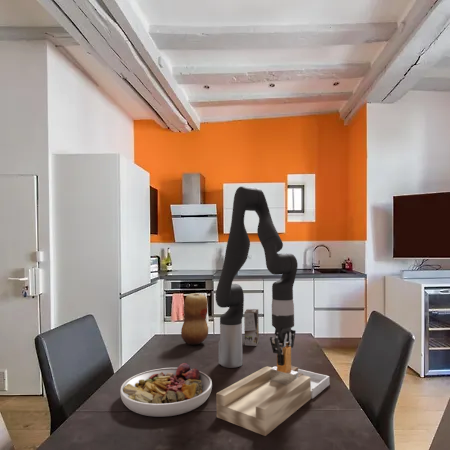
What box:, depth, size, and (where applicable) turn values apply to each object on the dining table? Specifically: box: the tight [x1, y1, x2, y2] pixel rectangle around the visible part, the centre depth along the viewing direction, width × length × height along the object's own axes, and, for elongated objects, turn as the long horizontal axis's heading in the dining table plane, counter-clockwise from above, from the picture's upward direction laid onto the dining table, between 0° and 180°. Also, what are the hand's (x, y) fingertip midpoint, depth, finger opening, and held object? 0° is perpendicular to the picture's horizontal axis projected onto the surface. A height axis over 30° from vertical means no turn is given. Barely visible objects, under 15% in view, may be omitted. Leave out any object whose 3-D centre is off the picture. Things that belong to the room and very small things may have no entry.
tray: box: [298, 368, 330, 399], centre depth 130 cm, size 18×14×3 cm
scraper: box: [270, 345, 298, 385], centre depth 123 cm, size 9×4×12 cm, turn 51°
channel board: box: [215, 366, 312, 437], centre depth 113 cm, size 17×28×7 cm, turn 142°
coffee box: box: [243, 308, 260, 347], centre depth 182 cm, size 9×6×16 cm
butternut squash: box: [180, 292, 209, 345], centre depth 182 cm, size 14×13×25 cm
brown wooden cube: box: [291, 365, 299, 372], centre depth 125 cm, size 4×4×4 cm
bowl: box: [120, 362, 213, 417], centre depth 121 cm, size 30×30×8 cm
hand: (283, 363), depth 123 cm, fingers closed on scraper, 3 cm apart
